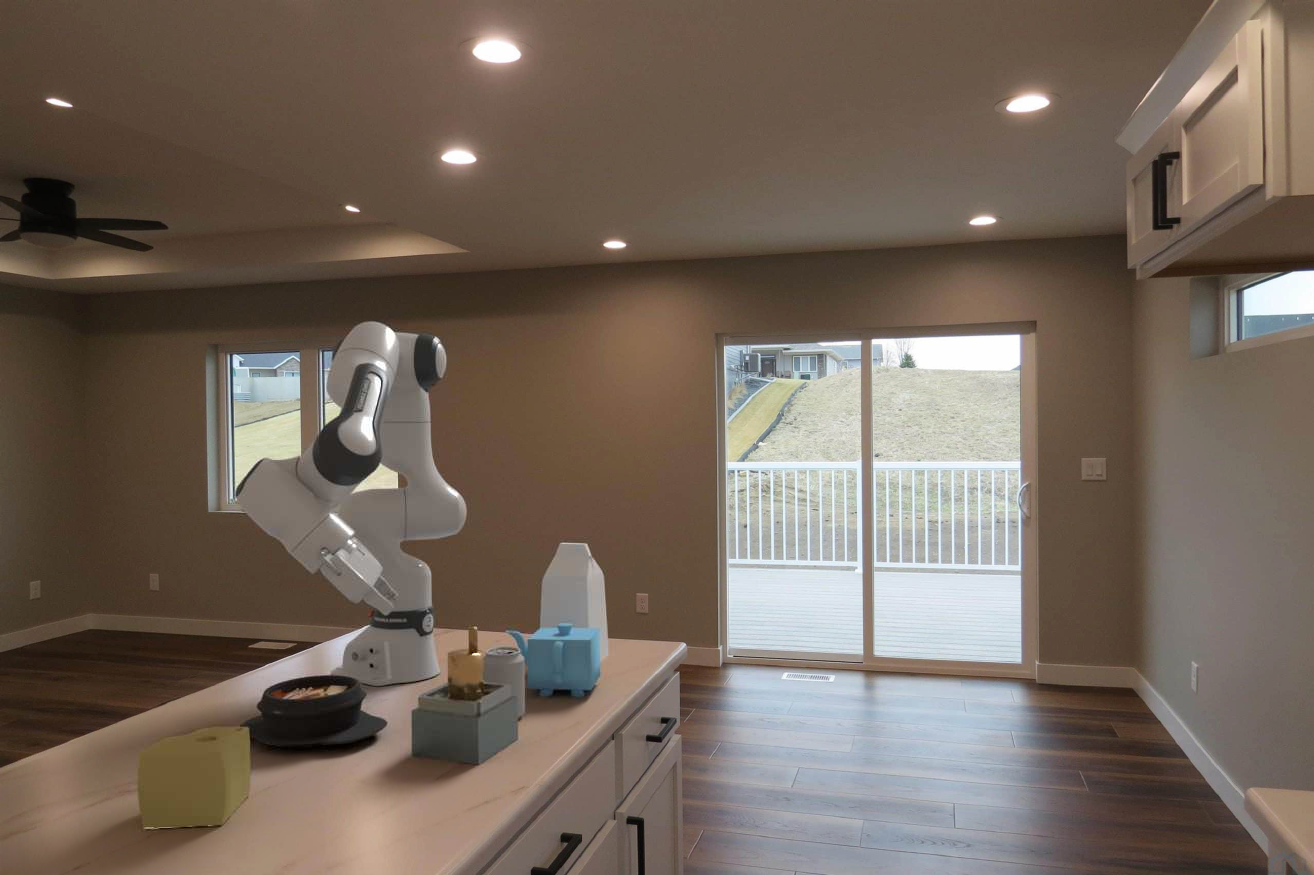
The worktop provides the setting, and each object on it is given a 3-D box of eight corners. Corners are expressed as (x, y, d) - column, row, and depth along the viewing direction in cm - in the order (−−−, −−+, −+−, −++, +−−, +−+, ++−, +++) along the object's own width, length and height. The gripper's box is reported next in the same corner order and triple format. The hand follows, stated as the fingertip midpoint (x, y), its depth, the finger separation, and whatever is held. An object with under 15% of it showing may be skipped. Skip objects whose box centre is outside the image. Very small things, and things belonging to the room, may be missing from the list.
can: (515, 725, 151) (515, 655, 151) (475, 723, 152) (474, 653, 152) (530, 712, 158) (530, 645, 158) (491, 709, 160) (491, 643, 160)
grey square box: (411, 755, 137) (411, 697, 137) (455, 731, 148) (454, 677, 148) (478, 764, 133) (478, 705, 133) (518, 739, 144) (517, 684, 144)
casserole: (208, 748, 141) (208, 696, 141) (290, 713, 159) (290, 666, 159) (339, 765, 133) (339, 709, 133) (410, 726, 151) (409, 677, 151)
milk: (538, 666, 190) (537, 546, 190) (559, 653, 201) (558, 539, 201) (590, 670, 186) (589, 547, 186) (609, 657, 197) (608, 541, 197)
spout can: (447, 706, 137) (447, 632, 137) (448, 696, 143) (447, 625, 143) (484, 703, 138) (483, 630, 138) (483, 693, 144) (482, 623, 144)
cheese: (174, 799, 121) (173, 726, 121) (255, 796, 122) (254, 724, 122) (136, 833, 111) (135, 753, 111) (224, 829, 112) (224, 750, 112)
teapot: (602, 679, 179) (601, 616, 179) (589, 702, 163) (588, 633, 163) (515, 678, 181) (515, 615, 181) (494, 700, 165) (493, 632, 165)
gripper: (332, 538, 126) (403, 603, 128) (349, 524, 146) (411, 580, 148) (299, 570, 125) (371, 635, 127) (321, 552, 145) (383, 608, 147)
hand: (393, 605), depth 138 cm, fingers open, 8 cm apart
